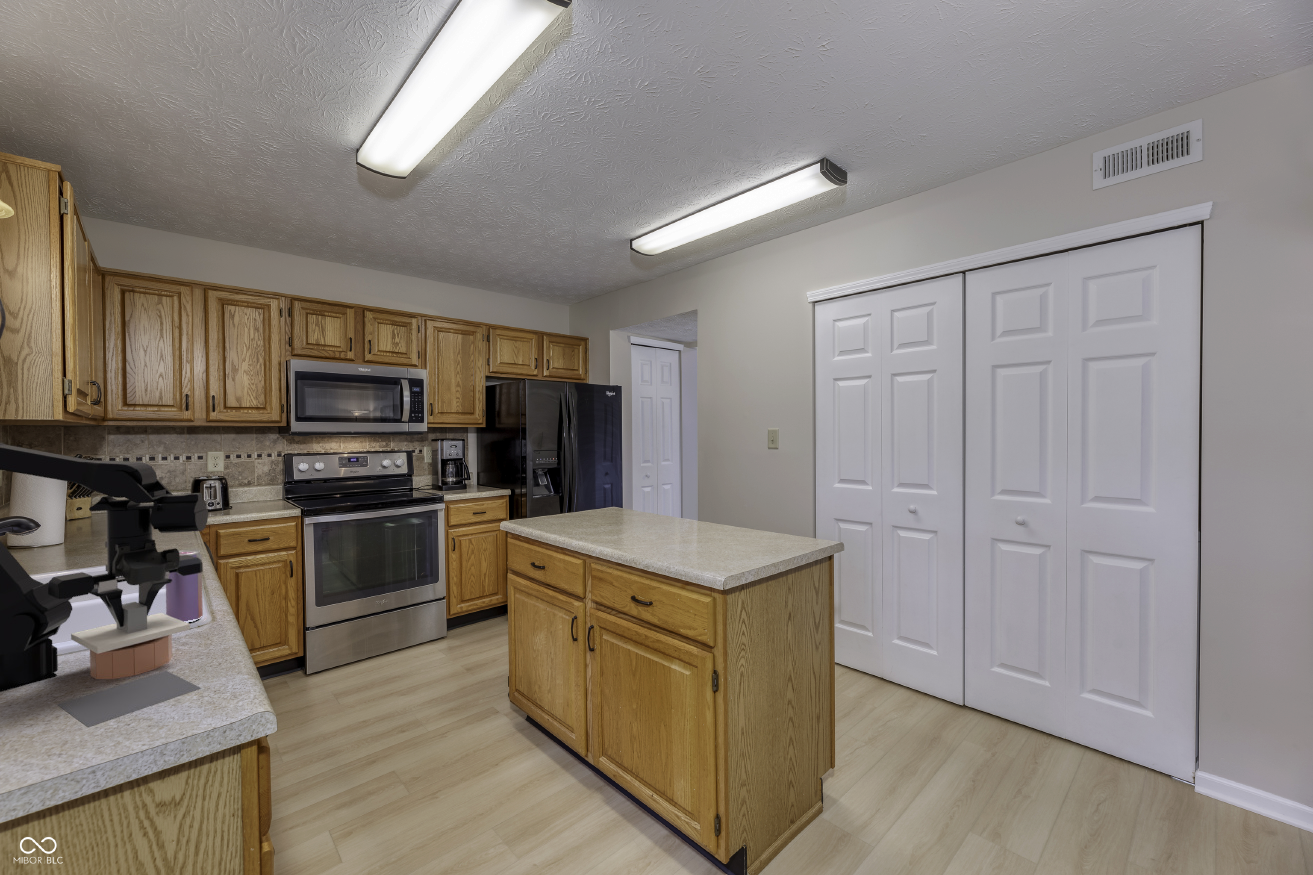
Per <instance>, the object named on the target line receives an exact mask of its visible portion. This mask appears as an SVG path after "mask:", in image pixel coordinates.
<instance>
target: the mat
mask: <svg viewBox="0 0 1313 875" xmlns="http://www.w3.org/2000/svg"><path fill="white" fill-rule="evenodd" d="M201 689H202V687H200V686H199V685H196V684H194V683H192V682H190V681H188V680H186V679H184V678H182V677H181V676H179V675H176V674H174V673H172V672H170V671H168V670H163V671H159V672H157V673H153V674H150V675H147V676H144V677H140V678H137V679H134V680H131V681H130V680H129V681H127V682H123V683H121V684H117V685H114V686H111V687H108V688H104V689H101V690H97V691H95V692H92V693H89V694H84V695H82V696H79V697H78V696H77V697H75V698H72V699H68V700H65V701H62V702H59V703H56V705H57V706H58V707H60V708H61V709H62V710H64V711H65V712H66V713H68V714H69V715H70V716H72V717H73V718H74V719H76V720H77V721H79V722H80V723H81V724H83V725H84V726H86V727H87V728H90V727H94V726H97V725H99V724H102V723H106V722H108V721H111V720H114V719H117V718H120V717H122V716H126V715H129V714H131V713H134V712H138V711H140V710H143V709H146V708H150V707H152V706H154V705H158V704H160V703H163V702H166V701H169V700H172V699H175V698H178V697H181V696H183V695H186V694H189V693H193V692H195V691H199V690H201Z"/></svg>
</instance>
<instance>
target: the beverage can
mask: <svg viewBox="0 0 1313 875" xmlns="http://www.w3.org/2000/svg"><path fill="white" fill-rule="evenodd" d="M178 551H179V554H180V556H184V555H190V556H194V557H198V558H199V559H201V561H202V562H203V555H202V554H201V550H200V549H183V550H181V549H180V550H178ZM169 579H172V582H171V583H168V584H165V606H166V607H165V611H166V614H165V615H168V616H171V617H173V618H176V619H178V620H181V621H188V620H193V619H198V618H200V617H201V616H202V617H203V614H204V612H203V572H201V573H197V574H192V575H186V576H182V575H180V574H178V573H177V572H173V573H169ZM202 617H201V618H202ZM201 618H200V619H201Z"/></svg>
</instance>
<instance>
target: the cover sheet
mask: <svg viewBox="0 0 1313 875" xmlns="http://www.w3.org/2000/svg"><path fill="white" fill-rule="evenodd" d="M122 608H123V615H124V625H123V627H119V626H118V625H117V623H116V622H115V623H111V624H107V625H103V626H98V627H94V628H89V629H86V630H81V631H78V632H76V631H75V632H72V633H70V637H71V638H70V640H72V641H73V642H75V643H77V644H79V645H81V646H82V647H84V648H86V649H87V650H89V651H90V650H92V651H93V652H95V653H97V654H99V653H102V652H106V651H110V650H114V649H118V648H122V647H125V646H129V645H133V644H137V643H141V642H144V641H148V640H152V639H156V638H160V637H164V636H167V635H171V634H172V635H175V634H178V633H179V634H180V633H182V632H186V631H189V630H191V623H186V622H184V621H181V620H178V619H176V618H173V617H171V616H168V615H166V614H165V613H163V612H158V613H153V614H151V615H149V614H148V616H147V606H145V605H143V604H140V603H139V602H138V601H133V602H127V603H124V604H123V603H122Z"/></svg>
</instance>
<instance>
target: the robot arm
mask: <svg viewBox="0 0 1313 875" xmlns="http://www.w3.org/2000/svg"><path fill="white" fill-rule="evenodd" d="M0 471H5V472H10V473H17V474H23V475H29V476H35V477H41V478H47V479H50V480H51V479H53V480H58V481H62V482H63V481H64V482H70V483H74V484H77V485H80V486H82V487H83V488H86V489H88V490H90V491H92V492H95V493H99V494H102V495H104V496H102V497H100V499H99V500H98V501H97V502H96V503H95V504H93V505H91V506H90V507H89V508H88V510H89V511H90V512H105V511H106V514H105V516H106V540H105V541H104V546H105V548H106V551H107V552H106V554H107V555H106V557H107V564H106V565H105V572H106V573H101V574H96V575H91V574H88V573H85V572H83V571H82V572H76V573H70V574H63V575H58V576H53V577H52V578H51V579H50V580H49V581H48V582H46V583H43V582H40V581H38V580H36V579H34V578H32V577H31V576H30V574H29V573H28V572H27V570H26V569H24V567H23V566H22V565H21V564H20V562H19V561H18V560H17V559H16V558H15V556H14V555H13V554H12V553H11V551H9V550H8V548H7V547H6V546H5V545H4V543H3V542H2V541H1V540H0V693H1V692H5V691H9V690H13V689H17V688H19V687H23V686H26V685H27V686H28V685H31V684H34V683H35V684H36V683H38V682H42V681H46V680H49V679H51V678H52V679H53V678H56V677H58V675H57V673H56V672H58V670H59V666H58V665H59V664H58V647H56V646H54V644H53V639H51V637H52V636H55V635H57V634H58V632H59V630H60V628H61V625H63V624H64V623H66V622H67V621H68V620H69V618H70V617H71V613H72V611H73V605H72V603H71V601H70V600H72V599H73V598H76V597H81V596H86V595H89V594H91V595H93V596H95V597H99V598H100V599H101V601H102V602H103V604H105V606H106V608H107V610H108V612H109V613H110V614H111V616H112V618H113V619H114V621H115V623H117V625H118V626H119V627H123V625H124V615H123V608H122V604H123V602H122V601H123V600H122V595H123V592H124V591H123V590H124V589H121V588H119V587H118V583H124V582H126V584H128V585H129V586H138V603H140V604H143V605H145V606H147V616H149V614H150V611H151V609H152V606H153V604H154V601H155V600H156V597H157V595H158V593H159V592H160V591H161V589H163V587H164V586H166V584H168V583H171V582H172V579H169V573H173V572H177V573H178V574H180V575H182V576H186V575H192V574H197V573H201V572H202V573H203V560H202V561H201V559H199V558H198V557H194V556H190V555H184V556H180V554H179V551H180V550H179V549H178V548H177V547H176V548H175V547H174V548H170V549H163V550H161V551H158V549H157V546H156V545H157V543H156V539H153V530H158V531H159V533H161V534H171V533H173V534H174V533H189V532H202V531H204V530H205V529H206V527H207V523H208V519H209V510H208V508H207V505H206V501H204V499H203V493H201V492H194V493H189V494H173V493H172V491H170V490H169V489H168V488H167V487H166V486H165V485H164V484H163V483H162V482H161V481H160V480H159V479H158V475H157V472H156V471H155V470H154V467H153V466H152V465H151V464H149V463H146V462H141V461H127V460H126V461H125V460H124V461H123V460H92V459H87V458H86V459H85V458H79V457H75V456H69V455H63V454H59V453H52V452H48V451H40V450H36V449H30V448H26V447H21V446H15V445H9V444H6V443H3V442H0ZM117 498H118V499H117ZM122 498H125V499H122Z"/></svg>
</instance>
